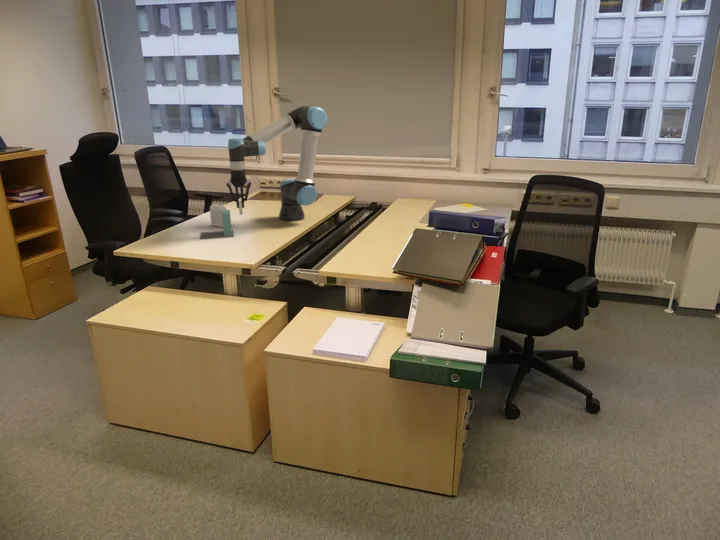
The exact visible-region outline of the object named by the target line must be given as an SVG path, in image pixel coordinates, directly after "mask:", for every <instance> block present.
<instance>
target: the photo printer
mask: <svg viewBox="0 0 720 540" xmlns="http://www.w3.org/2000/svg"><path fill="white" fill-rule="evenodd" d="M222 210H227V208H226V206H224V205H222V204H218V203H217V204H216V203H215V204H212V205H210V206H209V215H210V225H211V226H213V227H218V228H223V218H222Z"/></svg>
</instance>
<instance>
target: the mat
mask: <svg viewBox="0 0 720 540" xmlns="http://www.w3.org/2000/svg"><path fill="white" fill-rule="evenodd" d="M231 230H232V236H224V230H217V231H205V232H203V231H202V232H200V235H199V239H200V240H209V239H211V240H212V239H225V238H234V237H235V234H234V230H233V229H231Z"/></svg>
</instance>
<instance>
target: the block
mask: <svg viewBox="0 0 720 540" xmlns="http://www.w3.org/2000/svg"><path fill="white" fill-rule="evenodd" d="M222 218H223V227H222V229H223V231H224V236H232V230H233V229H232V221H231V220H232V219H231V210H230V209H226V210H222Z"/></svg>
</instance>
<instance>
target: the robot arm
mask: <svg viewBox="0 0 720 540" xmlns="http://www.w3.org/2000/svg"><path fill="white" fill-rule="evenodd" d="M327 122H328V115H327V113H326V112H325V110H324V109H323V108H321V107H319V106H314V105H313V106H309V105H303V106H299V107H297V108H294V109H292V110H291V111H289V112H287V113H285V114H284V116H283V117H282V118H279V119H278V120H276V121H274V122H272V123H271V124H269V125H267V126H264V127H263V128H261V129H259V130H257V131H255V132H253V133H251V134H250V135H248V136H246V137H244V138H242V137H233V138H231V137H230V138H228V141H227V143H228V144H227V147H228V148H227V149H228V157H229V169H230V179H229V181H228V182H226V186H227V188H228V190H229V192H230V196H231V199H232V201H233V202H236V208H237V209H238V210H239V213H238V214H239V215H243V209H244V208H245V202H247V201H248V198H249V191H250V187H251V185H252V181H249V180H248V178H246V177H247V176H246V163H245V162H246V161H245V158H246V157H260V156H261V157H262V156H264V155H265V154H266V152H267V146H266V143H268V142H270V141H272V140H274V139H276V138H278V137H280V136H281V135H283V134H285V133H286V132H289V131H295V130H296V129H299V128H300V131H301V133H302V138H301V139H302V140H301V147H300V154H299V163H298V171H297V177H296V178H291V179H283V180H281V181H280V186H279V188H280V202H281V203H280V204H281V205H280V209H279V214H278V219H279V220H280V219H281V221H284V220H285V222H287V221H288V222H294V221H295V222H296V220H297V221H301V219H302V220H304V219H305V218H306V215H305V212H304V209H303V206H311V205H312V204H313V203H315V201H316V200H317V197H318V190H317V188H315V186H316V182H315V181H314V171H315V165H316V164H315V163H316V156H317V149H318V141H319V136H320V135H322V132H323V129H324V128H325V127H326V125H328V123H327ZM245 185H246V190H245V194H244V186H245ZM232 186H233V187H234V189H235V196H234V192H233V189H232ZM239 188H240V197H239ZM239 199H240V201H239Z"/></svg>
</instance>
